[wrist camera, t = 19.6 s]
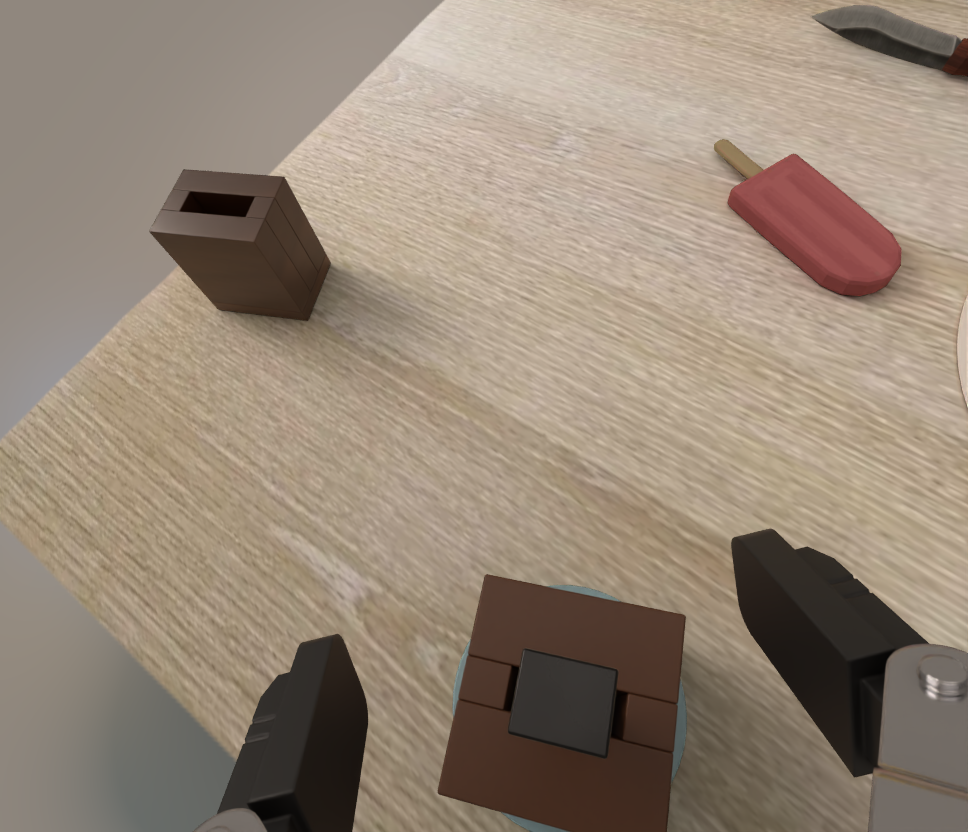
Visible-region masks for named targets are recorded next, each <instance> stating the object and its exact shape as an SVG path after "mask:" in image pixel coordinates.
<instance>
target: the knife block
mask: <svg viewBox="0 0 968 832" xmlns="http://www.w3.org/2000/svg"><path fill="white" fill-rule="evenodd" d="M149 232H150V233H151V234H152V235H153V237H154V238H155V239H156V240H157V241H158V242H159V243H160V244H161V246H163V248H164V249H165V250H166V251H167V252H168V253H169V255H170V256H171V257H172V258H173V259H174V260H175V261H176V263H177V264H178V265H179V266H180V267H181V268H182V269H183V270H184V272H185V273H186V274H187V275H188V276H189V277H190V278H191V279H192V281H193V282H194V283H195V284H196V285H197V286H198V287H199V288H200V290H201V291H202V292H203V293H204V294H205V295H206V296H207V297H208V299H209V300H210V301H211V302H212V303H213V304H214V305H215V306H216V307H217V309H219V310H227V311H234V312H242V313H250V314H258V315H266V316H274V317H282V318H290V319H298V320H306V321H308V319H309V317H310V314H311V312H312V309H313V307H314V304H315V301H316V299H317V296H318V294H319V291H320V289H321V286H322V284H323V281H324V279H325V276H326V274H327V271H328V269H329V266H330V264H331V262H330V260H329V259H328V257H327V255H326V253H325V251H324V249H323V247H322V246H321V244H320V242H319V240H318V238H317V236H316V234H315V233H314V231H313V229H312V227H311V225H310V223H309V222H308V220H307V218H306V216H305V214H304V212H303V210H302V209H301V207H300V205H299V203H298V201H297V199H296V197H295V196H294V194H293V192H292V190H291V188H290V186H289V185H288V183H287V181H286V179H285V177H280V176H266V175H253V174H239V173H226V172H212V171H198V170H185V169H184V170H183V171H182V173H181V175H180V177H179V178H178V180H177V182H176V184H175V186H174V187H173V190H172V191H171V193H170V194H169V196H168V198H167V200H166V202H165V203H164V205H163V207H162V209H161V211H160V212H159V214H158V216H157V218H156V219H155V221H154V223H153V225H152V227H151V229H150V230H149Z"/></svg>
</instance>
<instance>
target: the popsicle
mask: <svg viewBox="0 0 968 832" xmlns="http://www.w3.org/2000/svg"><path fill="white" fill-rule="evenodd" d="M714 150H715V151H716V152H717V153H718V154H719V155H720V156H722V157H723V158H724V159H725V160H726V161H727V162H729V163H730V164H731V165H732V166H733V167H734V168H736V169H737V170H738V171H739V172H740V173H741V174H743V175H744V176H745V177H746V178H747V180H746V181H744V182H742V183H740V184H739V185H737V186H735V187H734V188H733V189H732V190H731V192H730V196H729V199H728V205H729V206H730V207H731V208H732V209H733V210H734V211H735V212H737V213H738V214H739V215H740V216H741V217H742V218H743V219H744V220H746V221H747V222H748V223H749V224H750V225H751V226H752V227H753V228H755V229H756V230H757V231H758V232H759V233H760V234H761V235H762V236H763V237H765V238H766V239H767V240H768V241H769V242H770V243H771V244H773V245H774V246H775V247H776V248H777V249H779V250H780V251H781V252H782V253H783V254H784V255H786V256H787V257H788V258H789V259H790V260H791V261H793V262H794V263H795V264H796V265H797V266H799V267H800V268H801V269H802V270H803V271H804V272H806V273H807V274H808V275H809V276H810V277H811V278H813V279H814V280H815V281H816V282H817V283H819V284H820V285H821V286H823V287H825V288H828V289H830V290H832V291H834V292H836V293H838V294H841V295H852V296H862V295H866V294H871V293H874V292H877V291H878V290H880V289H882V288H883V287H885V286H886V285H887V284H888V283H889V281H890V280H891V279H892V277H893V276H894V274H895V273H896V271H897V270H898V269H899V267H900V266H901V248H900V246H899V244H898V243H897V241H896V239H895V238H894V236H893V234H892V233H891V232H890V231H889V230H887V229H886V228H885V227H884V226H883V225H881V224H880V223H879V222H878V221H877V220H876V219H874V218H873V217H872V216H871V215H870V214H868V213H867V212H866V211H865V210H864V209H863V208H861V207H860V206H859V205H858V204H857V203H855V202H854V201H853V200H852V199H851V198H850V197H848V196H847V195H846V194H845V193H844V192H842V191H841V190H840V189H839V188H838V187H836V186H835V185H834V184H833V183H831V182H830V181H829V180H828V179H826V178H825V177H824V176H823V175H821V174H820V173H819V172H818V171H816V170H815V169H814V168H813V167H812V166H810V165H809V164H808V163H807V162H805V161H804V160H803V159H802V158H800V157H799V156H798V155H796V154H791V155H789V156H788V157H786V158H784V159H782V160H781V161H779V162H777V163H775V164H774V165H772V166H770V167H768V168H767V169H765V170H763V169H762V168H761V167H759V166H758V165H757V164H756V163H755V162H753V161H752V160H751V159H750V158H749V157H747V156H746V155H745V154H744V153H743V152H741V151H740V150H739V149H738V148H737V147H735V146H734V145H733V144H732V143H731V142H729V141H728V140H724V139H723V140H719V141H717V142H716V143H715V145H714Z"/></svg>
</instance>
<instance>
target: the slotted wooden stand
mask: <svg viewBox="0 0 968 832" xmlns="http://www.w3.org/2000/svg"><path fill="white" fill-rule="evenodd" d="M685 620H686V617H685V615H682V614H677V613H673V612H668V611H663V610H658V609H653V608H648V607H643V606H639V605H634V604H629V603H624V602H621V601H619V600H618V599H616V598H614V597H612V596H610V595H607V594H605V593H603V592H600V591H597V590H594V589H590V588H586V587H580V586H573V585H553V586H541V585H536V584H532V583H527V582H522V581H517V580H512V579H507V578H502V577H498V576H493V575H488V574H487V575H485V577H484V582H483V586H482V591H481V595H480V600H479V604H478V609H477V614H476V618H475V623H474V627H473V632H472V636H471V639H470V641H469V643H468V645H467V646H466V649H465V651H464V653H463V656H462V658H461V660H460V664H459V667H458V671H457V674H456V679H455V685H454V691H453V723H452V728H451V732H450V737H449V741H448V746H447V750H446V755H445V760H444V764H443V769H442V773H441V778H440V782H439V787H438V794H439V795H443V796H446V797H450V798H453V799H457V800H460V801H464V802H467V803H471V804H474V805H478V806H481V807H485V808H488V809H492V810H495V811H499V812H501V813H502V814H503V815H505V816H506V817H507V818H509V819H510V820H512V821H513V822H514V823H516V824H518V825H519V826H521V827H523V828H525V829H527V830H529V831H531V832H667V823H668V812H669V800H670V789H671V783H672V781H673V779H674V777H675V774H676V772H677V770H678V768H679V765H680V761H681V758H682V754H683V751H684V745H685V739H686V729H687V712H686V702H685V695H684V691H683V686H682V682H681V679H680V676H681V665H682V654H683V643H684V631H685ZM524 648H529V649H533V650H538V651H542V652H546V653H551V654H555V655H559V656H564V657H568V658H572V659H577V660H581V661H586V662H590V663H594V664H599V665H603V666H607V667H612V668H616V669H617V670H618V672H619V674H618V682H617V690H616V698H615V705H614V713H613V721H612V729H611V737H610V745H609V753H608V757H607V759H602V758H598V757H594V756H590V755H586V754H582V753H579V752H575V751H571V750H567V749H563V748H559V747H556V746H552V745H548V744H544V743H540V742H536V741H532V740H529V739H525V738H521V737H517V736H513V735H510V734H509V733H508V724H509V719H510V714H511V708H512V703H513V698H514V692H515V687H516V682H517V676H518V671H519V666H520V660H521V655H522V650H523V649H524Z"/></svg>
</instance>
